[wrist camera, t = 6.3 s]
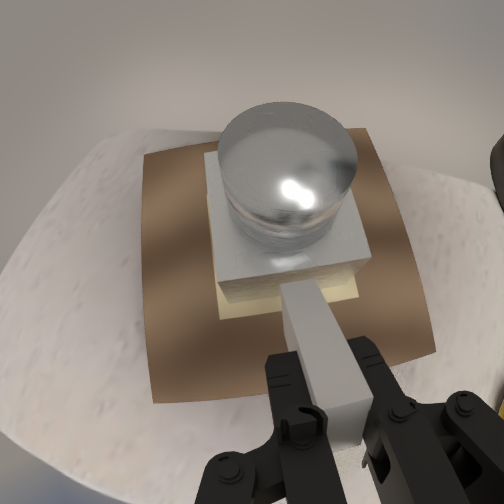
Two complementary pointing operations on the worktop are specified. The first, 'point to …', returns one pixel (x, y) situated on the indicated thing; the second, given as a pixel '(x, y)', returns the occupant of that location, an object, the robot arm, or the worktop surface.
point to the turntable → (269, 309)
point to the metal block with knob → (283, 202)
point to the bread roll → (501, 410)
